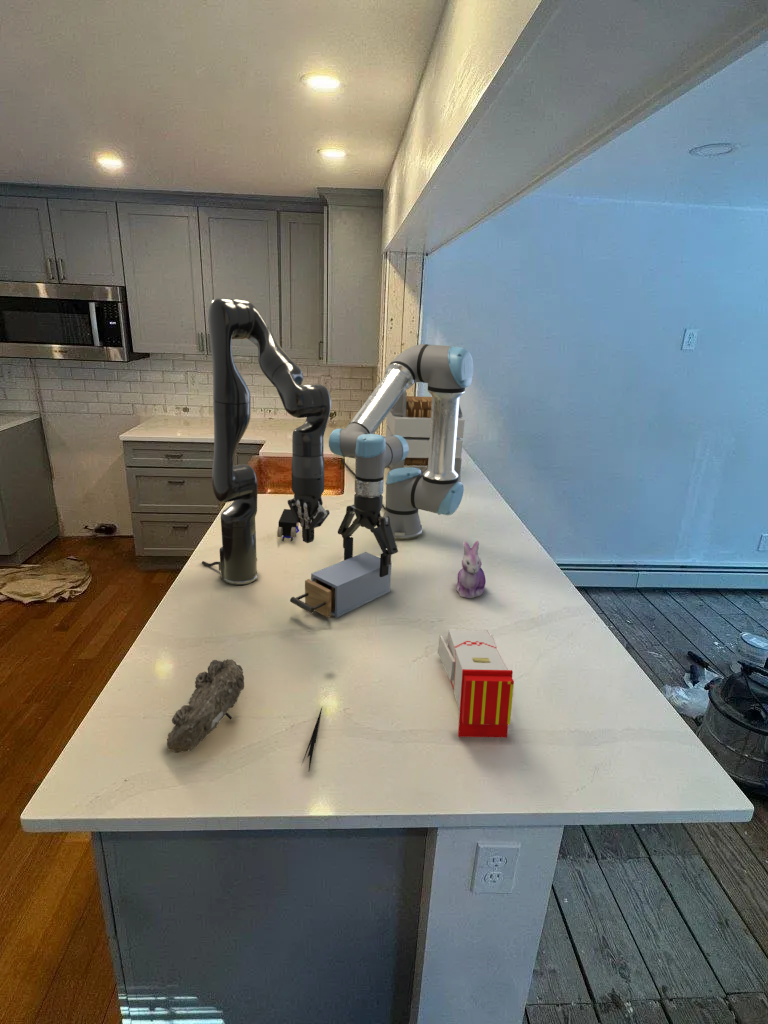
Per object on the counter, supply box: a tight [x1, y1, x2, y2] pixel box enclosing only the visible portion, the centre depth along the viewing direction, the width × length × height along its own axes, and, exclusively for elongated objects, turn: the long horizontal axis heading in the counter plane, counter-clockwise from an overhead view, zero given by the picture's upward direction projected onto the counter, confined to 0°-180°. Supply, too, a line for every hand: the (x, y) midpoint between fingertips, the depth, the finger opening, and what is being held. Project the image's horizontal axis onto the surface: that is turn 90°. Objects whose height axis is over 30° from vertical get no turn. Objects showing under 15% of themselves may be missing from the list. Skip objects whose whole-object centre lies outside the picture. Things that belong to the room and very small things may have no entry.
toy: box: [437, 628, 515, 738], centre depth 117 cm, size 12×13×30 cm
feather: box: [301, 673, 332, 771], centre depth 108 cm, size 2×28×2 cm
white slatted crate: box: [385, 390, 465, 482], centre depth 268 cm, size 34×33×41 cm
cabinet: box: [310, 551, 392, 618], centre depth 153 cm, size 20×10×9 cm, turn 138°
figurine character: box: [276, 508, 300, 543], centre depth 192 cm, size 7×8×15 cm
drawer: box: [289, 578, 335, 618], centre depth 149 cm, size 25×9×7 cm, turn 138°
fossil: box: [166, 658, 245, 754], centre depth 106 cm, size 22×10×15 cm
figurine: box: [455, 540, 487, 599], centre depth 158 cm, size 9×10×15 cm
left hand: (308, 541), depth 137 cm, fingers closed
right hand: (365, 567), depth 156 cm, fingers open, 13 cm apart
